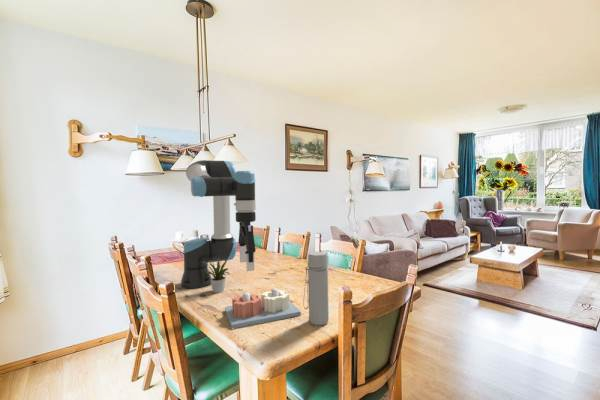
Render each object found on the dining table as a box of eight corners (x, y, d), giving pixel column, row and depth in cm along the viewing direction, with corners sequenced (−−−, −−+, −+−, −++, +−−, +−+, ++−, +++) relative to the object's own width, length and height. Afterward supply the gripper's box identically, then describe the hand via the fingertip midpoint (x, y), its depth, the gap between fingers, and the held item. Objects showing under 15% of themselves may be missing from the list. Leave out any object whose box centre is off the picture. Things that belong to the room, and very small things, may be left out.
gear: (256, 304, 117) (256, 292, 117) (262, 314, 107) (262, 301, 107) (231, 309, 113) (231, 296, 113) (235, 319, 104) (235, 305, 103)
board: (225, 310, 115) (224, 289, 115) (285, 300, 125) (285, 280, 125) (232, 328, 100) (231, 304, 99) (300, 315, 110) (300, 293, 109)
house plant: (199, 298, 129) (198, 262, 129) (201, 288, 142) (200, 256, 142) (231, 295, 133) (230, 260, 132) (230, 285, 146) (229, 254, 146)
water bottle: (327, 316, 108) (326, 251, 107) (330, 326, 100) (329, 255, 99) (303, 317, 108) (302, 251, 107) (304, 327, 100) (303, 256, 99)
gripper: (230, 209, 120) (231, 259, 121) (241, 214, 97) (243, 276, 98) (248, 209, 123) (249, 258, 124) (263, 213, 100) (264, 273, 100)
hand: (246, 266), depth 111 cm, fingers open, 13 cm apart
